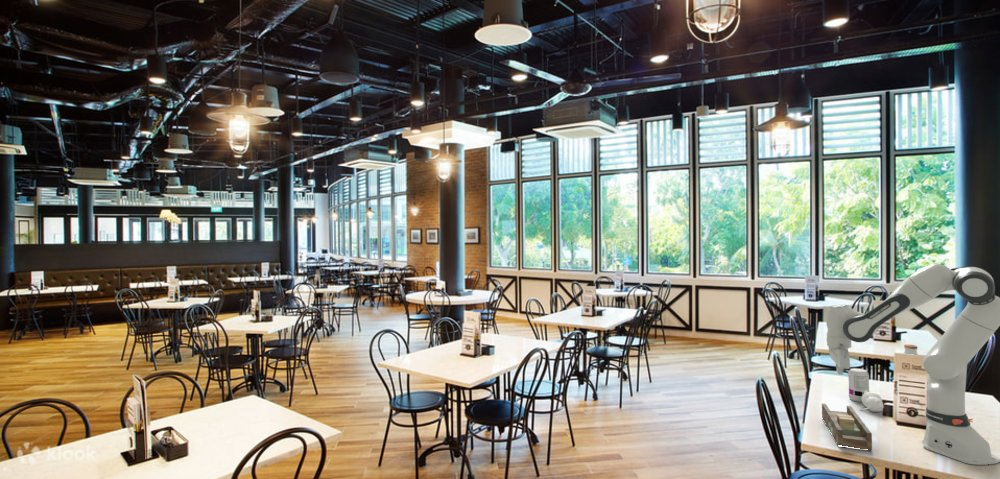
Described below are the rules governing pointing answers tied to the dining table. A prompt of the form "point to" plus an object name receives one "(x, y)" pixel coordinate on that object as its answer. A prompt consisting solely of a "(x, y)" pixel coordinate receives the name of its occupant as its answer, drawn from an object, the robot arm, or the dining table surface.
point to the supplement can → (858, 383)
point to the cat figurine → (872, 401)
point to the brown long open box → (848, 436)
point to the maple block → (845, 421)
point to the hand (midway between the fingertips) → (839, 373)
